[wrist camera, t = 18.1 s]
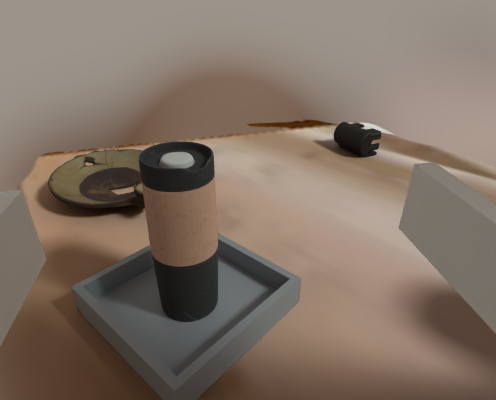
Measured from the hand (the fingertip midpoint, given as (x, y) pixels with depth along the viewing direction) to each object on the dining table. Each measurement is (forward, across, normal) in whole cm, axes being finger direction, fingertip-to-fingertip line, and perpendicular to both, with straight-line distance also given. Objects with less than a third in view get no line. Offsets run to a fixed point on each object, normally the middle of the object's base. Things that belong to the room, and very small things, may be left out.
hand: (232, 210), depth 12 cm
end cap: (+73, +40, -29) cm, 88 cm away
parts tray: (+24, -4, -28) cm, 37 cm away
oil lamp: (+55, -18, -29) cm, 64 cm away
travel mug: (+24, -4, -27) cm, 36 cm away
